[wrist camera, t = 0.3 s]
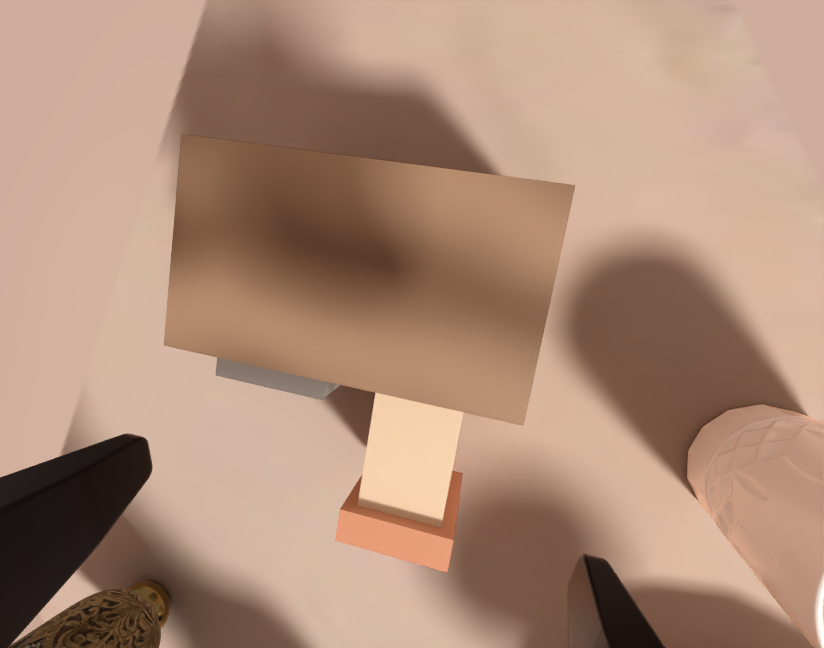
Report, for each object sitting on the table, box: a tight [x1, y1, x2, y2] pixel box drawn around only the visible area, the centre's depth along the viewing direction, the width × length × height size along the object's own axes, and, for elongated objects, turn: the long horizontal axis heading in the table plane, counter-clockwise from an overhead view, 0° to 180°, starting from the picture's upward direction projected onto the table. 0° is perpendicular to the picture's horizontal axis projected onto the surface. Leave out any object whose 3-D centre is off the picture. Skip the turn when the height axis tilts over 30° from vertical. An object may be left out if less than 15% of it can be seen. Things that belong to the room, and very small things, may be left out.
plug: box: [335, 393, 463, 572], centre depth 20 cm, size 10×5×6 cm, turn 170°
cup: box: [8, 581, 171, 648], centre depth 26 cm, size 8×7×8 cm
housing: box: [164, 134, 575, 426], centre depth 19 cm, size 10×14×10 cm
